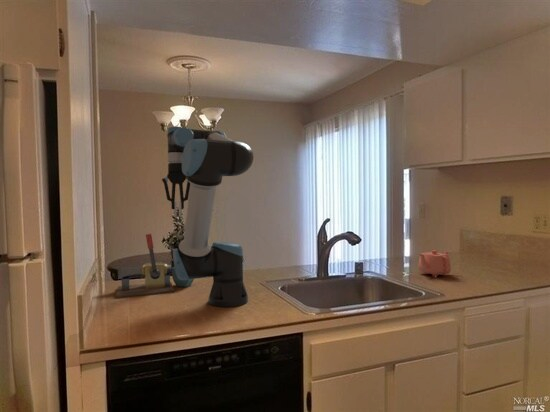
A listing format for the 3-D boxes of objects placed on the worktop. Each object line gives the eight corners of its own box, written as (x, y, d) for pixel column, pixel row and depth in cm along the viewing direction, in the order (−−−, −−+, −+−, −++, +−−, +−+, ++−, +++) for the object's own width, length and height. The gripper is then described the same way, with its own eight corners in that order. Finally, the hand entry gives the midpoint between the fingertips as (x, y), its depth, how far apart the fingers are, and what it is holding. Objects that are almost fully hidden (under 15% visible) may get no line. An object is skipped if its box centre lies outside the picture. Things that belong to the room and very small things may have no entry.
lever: (151, 280, 154) (160, 278, 155) (143, 235, 152) (153, 233, 154) (151, 279, 156) (160, 277, 157) (143, 234, 154) (153, 233, 156)
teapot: (418, 277, 181) (418, 252, 180) (418, 270, 196) (418, 247, 196) (451, 279, 175) (451, 253, 175) (449, 272, 190) (449, 248, 190)
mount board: (174, 292, 156) (174, 289, 156) (116, 298, 148) (116, 295, 148) (170, 283, 171) (170, 281, 171) (117, 288, 163) (117, 286, 163)
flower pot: (189, 288, 162) (188, 268, 162) (170, 287, 164) (170, 268, 164) (197, 283, 171) (196, 264, 170) (179, 282, 172) (179, 264, 172)
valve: (171, 287, 160) (171, 265, 160) (117, 292, 152) (117, 269, 152) (170, 283, 168) (169, 261, 168) (118, 287, 160) (118, 265, 160)
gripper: (192, 164, 165) (193, 215, 166) (159, 163, 160) (160, 216, 160) (194, 162, 158) (195, 216, 159) (160, 161, 153) (161, 217, 153)
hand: (177, 216), depth 160 cm, fingers closed
